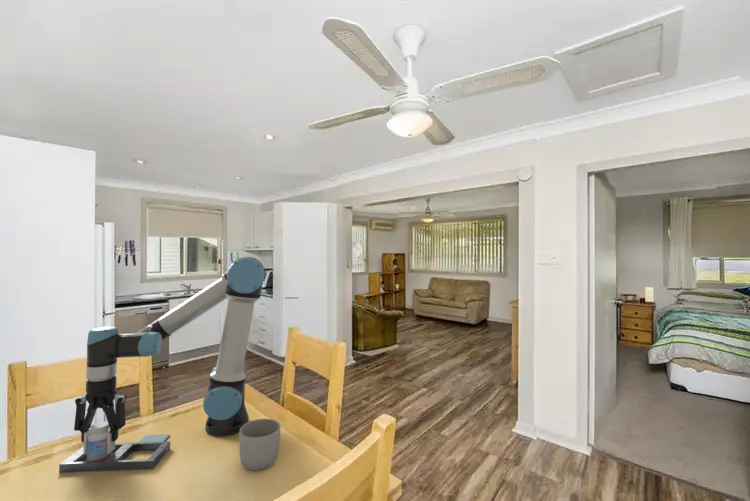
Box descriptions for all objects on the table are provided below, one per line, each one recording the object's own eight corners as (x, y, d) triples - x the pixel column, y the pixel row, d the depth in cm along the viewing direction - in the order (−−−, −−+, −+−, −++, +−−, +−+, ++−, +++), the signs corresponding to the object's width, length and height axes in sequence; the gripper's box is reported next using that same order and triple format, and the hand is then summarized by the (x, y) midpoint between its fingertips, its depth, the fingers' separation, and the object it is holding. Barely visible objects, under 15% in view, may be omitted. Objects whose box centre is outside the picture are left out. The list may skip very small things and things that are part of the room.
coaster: (169, 435, 125) (169, 434, 125) (158, 448, 117) (158, 446, 117) (145, 436, 124) (145, 434, 124) (132, 449, 116) (132, 447, 116)
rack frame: (170, 448, 117) (170, 441, 117) (152, 469, 106) (153, 460, 106) (85, 451, 114) (86, 443, 114) (59, 472, 103) (59, 464, 103)
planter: (237, 455, 114) (238, 422, 114) (276, 448, 118) (277, 415, 119) (239, 478, 102) (240, 441, 102) (282, 469, 107) (283, 433, 107)
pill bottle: (97, 468, 106) (98, 430, 106) (81, 465, 107) (82, 428, 107) (116, 456, 112) (117, 421, 112) (100, 454, 113) (101, 419, 113)
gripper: (140, 372, 114) (138, 444, 114) (77, 373, 112) (75, 446, 112) (126, 381, 107) (124, 457, 106) (59, 382, 105) (56, 459, 104)
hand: (99, 451), depth 109 cm, fingers closed on pill bottle, 6 cm apart
